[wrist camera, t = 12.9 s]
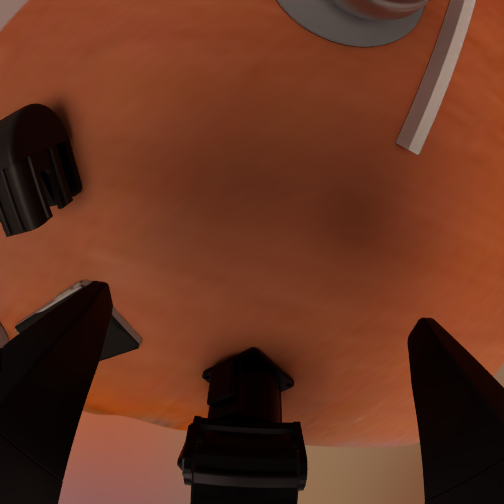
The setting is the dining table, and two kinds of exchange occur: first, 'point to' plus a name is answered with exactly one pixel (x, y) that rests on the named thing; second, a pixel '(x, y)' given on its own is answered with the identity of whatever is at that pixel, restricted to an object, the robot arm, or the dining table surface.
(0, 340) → the bottle
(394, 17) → the plastic bottle
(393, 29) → the slate mat
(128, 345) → the smartphone
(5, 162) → the end cap
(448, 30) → the frosted wall
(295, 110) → the dining table surface
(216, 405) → the robot arm
